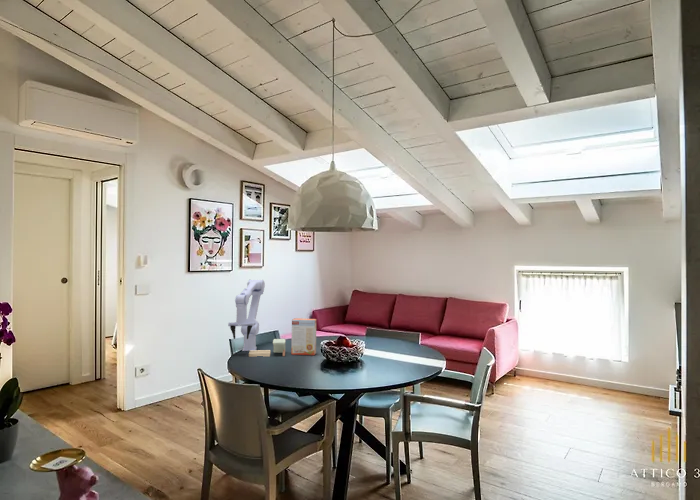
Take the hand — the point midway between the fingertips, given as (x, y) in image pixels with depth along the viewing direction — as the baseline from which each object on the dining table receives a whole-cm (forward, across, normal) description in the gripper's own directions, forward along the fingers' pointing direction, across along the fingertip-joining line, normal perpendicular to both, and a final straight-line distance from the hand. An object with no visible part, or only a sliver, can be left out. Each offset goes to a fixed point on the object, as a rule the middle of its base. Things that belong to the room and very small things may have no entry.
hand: (241, 338), depth 253 cm
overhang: (+9, +22, 0) cm, 24 cm away
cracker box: (+10, +36, +2) cm, 38 cm away
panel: (+10, +11, 0) cm, 15 cm away
